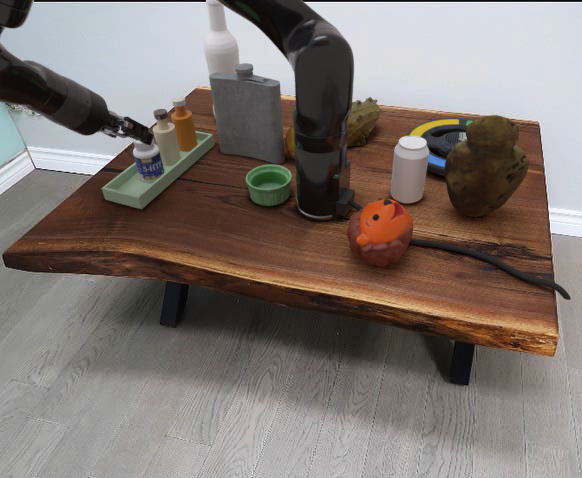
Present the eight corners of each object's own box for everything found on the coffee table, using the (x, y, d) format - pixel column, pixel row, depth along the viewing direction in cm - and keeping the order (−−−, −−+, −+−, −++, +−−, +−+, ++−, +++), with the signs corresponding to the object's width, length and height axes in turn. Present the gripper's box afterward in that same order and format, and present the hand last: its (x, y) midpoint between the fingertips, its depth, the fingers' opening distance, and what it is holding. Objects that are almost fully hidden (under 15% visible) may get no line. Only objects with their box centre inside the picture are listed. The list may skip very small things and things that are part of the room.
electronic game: (411, 125, 120) (413, 106, 117) (514, 137, 113) (519, 117, 110) (394, 176, 103) (396, 155, 100) (513, 192, 97) (519, 171, 94)
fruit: (304, 142, 116) (303, 110, 111) (336, 154, 111) (337, 120, 106) (277, 160, 110) (275, 127, 105) (310, 173, 106) (309, 139, 101)
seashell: (385, 131, 121) (388, 89, 115) (365, 154, 110) (367, 109, 105) (342, 124, 125) (343, 84, 120) (318, 146, 114) (319, 102, 109)
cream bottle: (185, 157, 112) (175, 108, 104) (173, 167, 109) (162, 118, 101) (168, 153, 113) (157, 105, 106) (156, 163, 110) (144, 114, 103)
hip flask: (217, 152, 114) (204, 65, 102) (226, 144, 117) (214, 58, 104) (281, 165, 109) (274, 74, 96) (288, 156, 112) (283, 66, 99)
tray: (214, 145, 117) (213, 134, 115) (141, 209, 98) (138, 197, 97) (182, 138, 120) (180, 127, 119) (105, 199, 102) (101, 188, 100)
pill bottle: (146, 185, 103) (136, 147, 98) (135, 175, 107) (124, 138, 101) (169, 176, 106) (160, 138, 100) (158, 166, 109) (149, 129, 104)
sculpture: (434, 222, 91) (451, 120, 78) (440, 196, 97) (457, 98, 84) (512, 235, 87) (544, 130, 75) (513, 207, 93) (543, 106, 81)
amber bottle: (201, 143, 116) (193, 96, 109) (190, 153, 113) (181, 104, 106) (185, 140, 118) (175, 93, 110) (173, 149, 115) (163, 101, 107)
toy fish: (406, 282, 80) (414, 226, 72) (340, 273, 82) (342, 217, 75) (411, 235, 88) (419, 181, 81) (352, 228, 91) (354, 174, 84)
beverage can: (427, 193, 98) (435, 138, 90) (414, 210, 94) (422, 153, 87) (398, 184, 101) (403, 130, 93) (384, 200, 97) (389, 145, 89)
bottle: (246, 109, 131) (232, -17, 112) (246, 124, 125) (231, -7, 105) (215, 112, 131) (196, -14, 112) (213, 126, 124) (192, -5, 105)
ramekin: (273, 213, 95) (272, 194, 93) (238, 198, 100) (235, 180, 97) (301, 191, 101) (301, 172, 98) (267, 178, 105) (265, 159, 102)
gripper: (111, 89, 80) (168, 123, 96) (46, 78, 86) (110, 112, 101) (98, 134, 80) (157, 161, 95) (33, 120, 85) (99, 148, 100)
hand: (133, 136), depth 98 cm, fingers open, 8 cm apart
